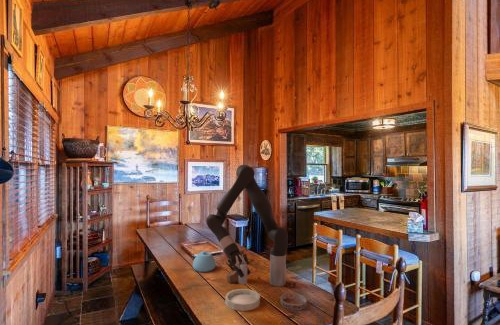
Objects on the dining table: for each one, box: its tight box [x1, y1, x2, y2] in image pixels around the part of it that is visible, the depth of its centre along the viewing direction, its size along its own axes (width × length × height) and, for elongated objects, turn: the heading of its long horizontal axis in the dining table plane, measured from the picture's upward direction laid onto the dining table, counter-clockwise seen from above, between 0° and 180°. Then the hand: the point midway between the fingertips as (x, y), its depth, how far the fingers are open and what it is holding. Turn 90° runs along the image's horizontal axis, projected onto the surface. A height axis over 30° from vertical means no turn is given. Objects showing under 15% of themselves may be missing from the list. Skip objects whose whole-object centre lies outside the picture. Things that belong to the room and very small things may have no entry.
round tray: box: [224, 288, 261, 312], centre depth 145 cm, size 17×17×3 cm
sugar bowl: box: [192, 250, 216, 273], centre depth 190 cm, size 15×15×12 cm
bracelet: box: [279, 292, 308, 311], centre depth 144 cm, size 14×14×3 cm
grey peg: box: [238, 262, 249, 285], centre depth 145 cm, size 4×4×9 cm
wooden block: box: [226, 248, 245, 284], centre depth 171 cm, size 9×4×18 cm, turn 119°
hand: (245, 275), depth 143 cm, fingers closed on grey peg, 4 cm apart
